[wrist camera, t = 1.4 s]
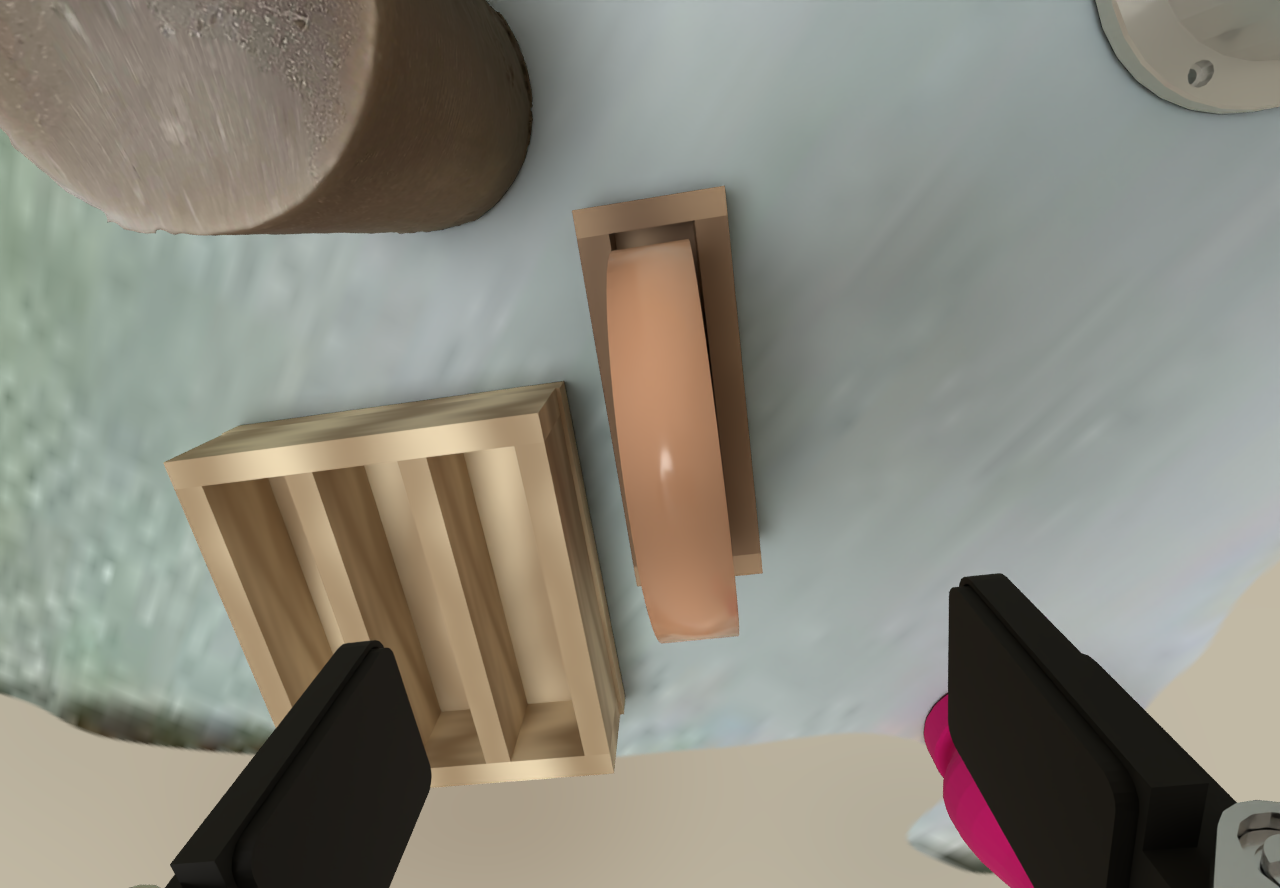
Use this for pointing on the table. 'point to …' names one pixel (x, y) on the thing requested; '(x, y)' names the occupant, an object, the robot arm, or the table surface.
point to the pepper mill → (970, 803)
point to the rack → (423, 571)
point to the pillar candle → (268, 111)
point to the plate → (670, 443)
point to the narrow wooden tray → (711, 250)
